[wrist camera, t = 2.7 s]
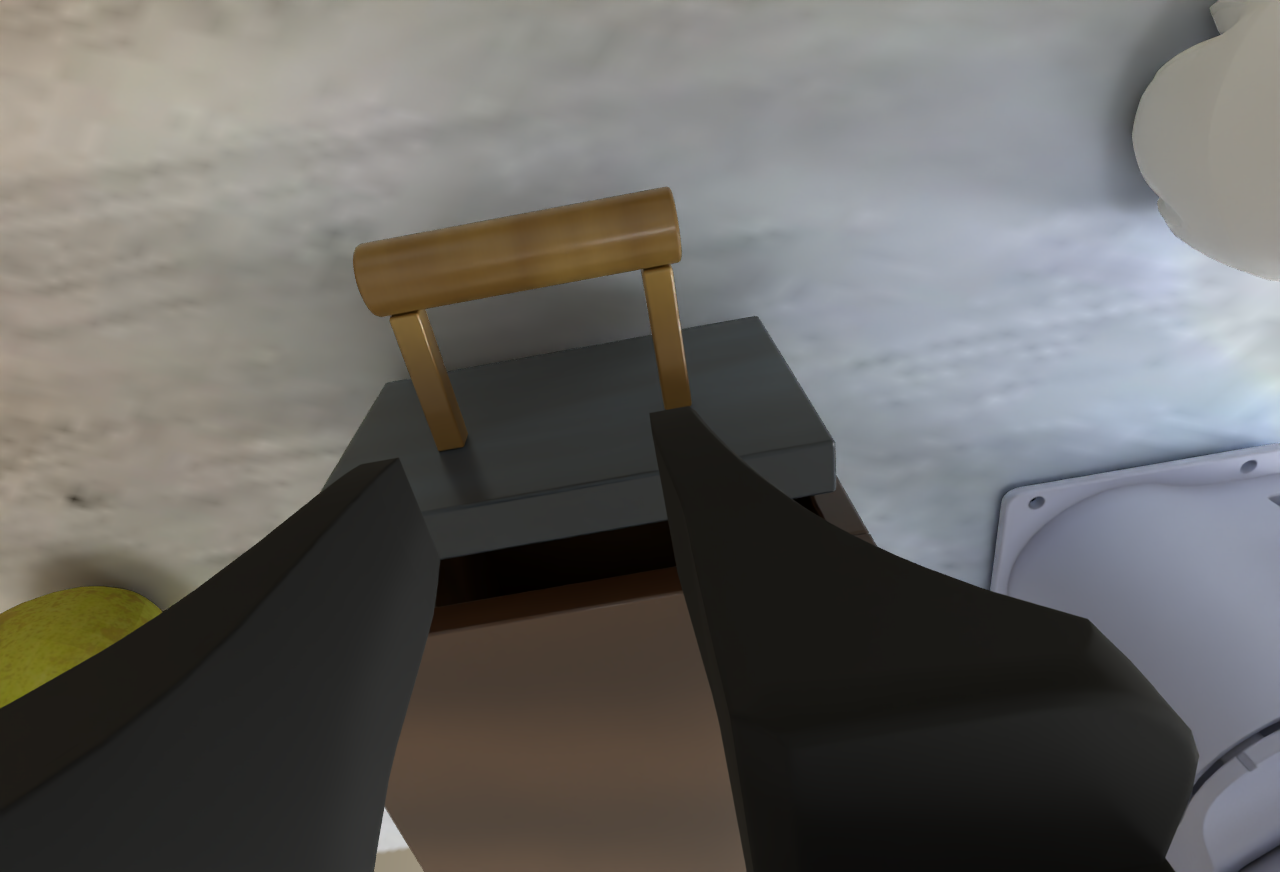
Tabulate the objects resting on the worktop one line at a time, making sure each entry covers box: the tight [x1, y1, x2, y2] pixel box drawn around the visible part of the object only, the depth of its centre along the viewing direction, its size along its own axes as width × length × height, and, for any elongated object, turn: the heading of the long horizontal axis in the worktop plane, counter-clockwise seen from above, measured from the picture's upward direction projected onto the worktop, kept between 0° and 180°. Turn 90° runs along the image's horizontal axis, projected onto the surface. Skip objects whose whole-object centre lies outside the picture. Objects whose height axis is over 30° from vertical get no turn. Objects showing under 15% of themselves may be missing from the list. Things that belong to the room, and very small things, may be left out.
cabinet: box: [384, 476, 877, 872], centre depth 20 cm, size 14×12×9 cm
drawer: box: [320, 187, 836, 607], centre depth 18 cm, size 17×10×7 cm, turn 9°
